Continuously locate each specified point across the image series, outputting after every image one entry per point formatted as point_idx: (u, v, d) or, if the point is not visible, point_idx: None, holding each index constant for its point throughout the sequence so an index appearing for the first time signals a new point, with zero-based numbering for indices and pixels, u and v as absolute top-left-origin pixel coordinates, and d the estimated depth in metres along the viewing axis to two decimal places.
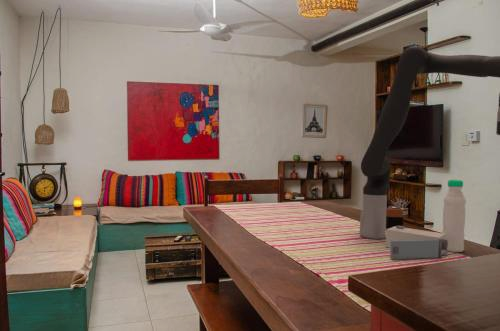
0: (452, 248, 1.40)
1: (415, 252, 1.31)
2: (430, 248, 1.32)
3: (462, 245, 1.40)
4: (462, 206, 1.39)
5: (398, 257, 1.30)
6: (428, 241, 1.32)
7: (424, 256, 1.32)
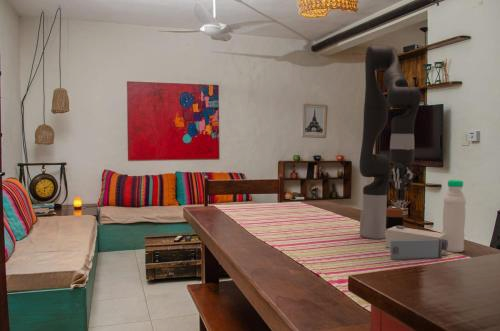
0: (452, 248, 1.40)
1: (415, 252, 1.31)
2: (430, 248, 1.32)
3: (462, 245, 1.40)
4: (462, 206, 1.39)
5: (398, 257, 1.30)
6: (428, 241, 1.32)
7: (424, 256, 1.32)
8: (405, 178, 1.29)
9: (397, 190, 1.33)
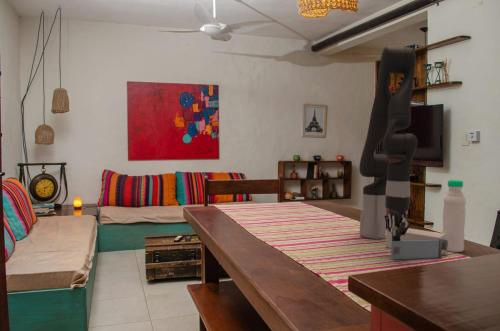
0: (452, 248, 1.40)
1: (415, 252, 1.31)
2: (430, 248, 1.32)
3: (462, 245, 1.40)
4: (462, 206, 1.39)
5: (399, 257, 1.30)
6: (429, 241, 1.32)
7: (424, 256, 1.32)
8: (400, 226, 1.27)
9: (393, 237, 1.32)
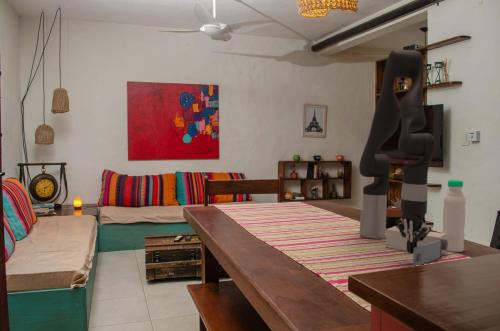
0: (452, 248, 1.40)
1: (428, 256, 1.27)
2: (436, 249, 1.30)
3: (462, 245, 1.40)
4: (462, 206, 1.39)
5: (419, 264, 1.23)
6: (435, 243, 1.30)
7: (433, 259, 1.29)
8: (421, 232, 1.20)
9: (409, 243, 1.25)
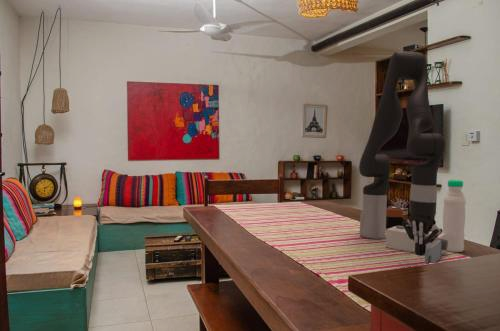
0: (452, 248, 1.40)
1: (434, 257, 1.26)
2: (438, 250, 1.30)
3: (462, 245, 1.40)
4: (462, 206, 1.39)
5: None
6: (438, 243, 1.29)
7: (436, 259, 1.28)
8: (432, 234, 1.18)
9: (418, 245, 1.22)
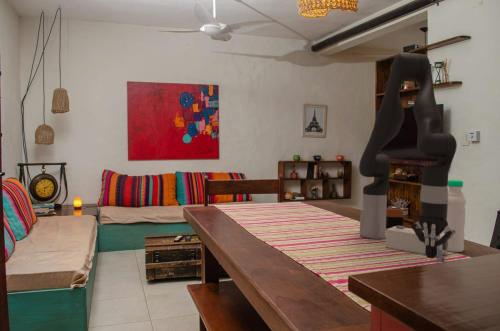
0: (452, 248, 1.40)
1: None
2: None
3: (462, 245, 1.40)
4: (462, 206, 1.39)
5: None
6: None
7: None
8: (446, 236, 1.16)
9: (429, 247, 1.20)
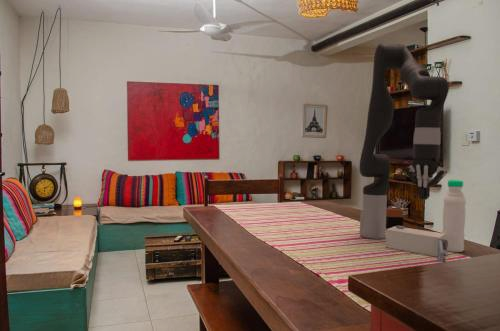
0: (452, 248, 1.40)
1: None
2: None
3: (462, 245, 1.40)
4: (462, 206, 1.39)
5: None
6: None
7: None
8: (438, 176, 1.19)
9: (422, 189, 1.23)
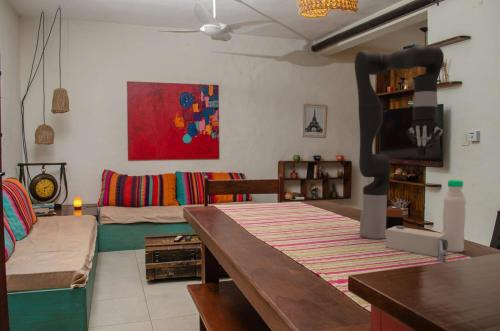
0: (452, 248, 1.40)
1: None
2: None
3: (462, 245, 1.40)
4: (462, 206, 1.39)
5: None
6: None
7: None
8: (435, 134, 1.32)
9: (421, 147, 1.36)
